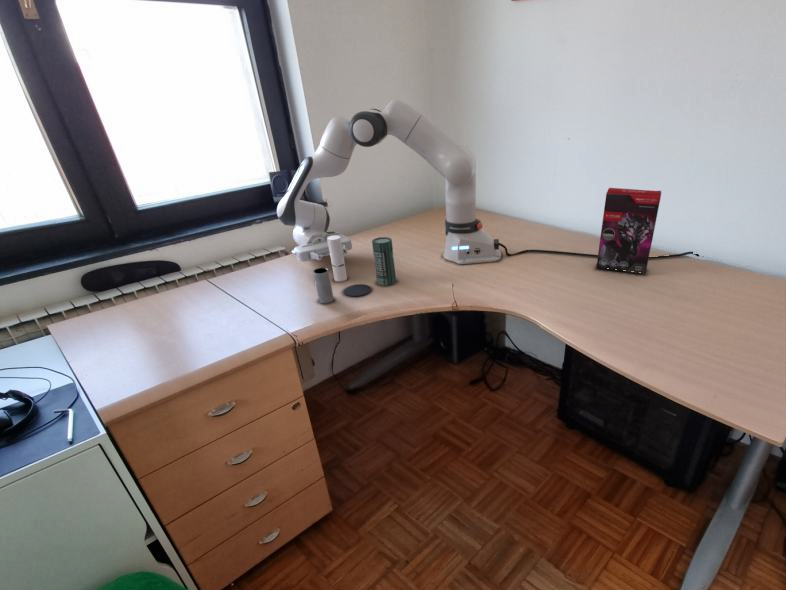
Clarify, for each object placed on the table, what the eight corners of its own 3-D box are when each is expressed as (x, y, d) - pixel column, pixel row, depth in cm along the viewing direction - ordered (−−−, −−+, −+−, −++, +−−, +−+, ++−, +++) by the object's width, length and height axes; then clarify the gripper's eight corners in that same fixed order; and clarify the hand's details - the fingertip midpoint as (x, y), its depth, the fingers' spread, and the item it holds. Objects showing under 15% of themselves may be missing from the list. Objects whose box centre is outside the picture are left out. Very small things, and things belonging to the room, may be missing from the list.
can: (398, 280, 158) (394, 238, 150) (389, 287, 154) (384, 244, 146) (383, 277, 161) (379, 236, 153) (374, 284, 156) (368, 241, 148)
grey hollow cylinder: (336, 298, 147) (331, 268, 142) (328, 304, 143) (322, 274, 138) (324, 296, 148) (318, 266, 143) (316, 302, 145) (310, 272, 139)
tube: (335, 276, 162) (328, 235, 154) (347, 276, 162) (341, 235, 154) (333, 281, 158) (326, 240, 150) (346, 281, 159) (339, 239, 151)
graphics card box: (594, 269, 163) (606, 191, 148) (597, 262, 168) (608, 186, 154) (645, 276, 157) (662, 195, 143) (646, 268, 163) (662, 190, 148)
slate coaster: (373, 285, 155) (373, 284, 155) (368, 296, 148) (368, 295, 147) (347, 285, 155) (347, 284, 155) (341, 297, 148) (340, 295, 148)
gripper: (287, 242, 162) (302, 252, 152) (340, 230, 172) (357, 239, 163) (291, 259, 165) (305, 270, 155) (343, 246, 175) (359, 256, 166)
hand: (332, 254), depth 159 cm, fingers open, 8 cm apart
